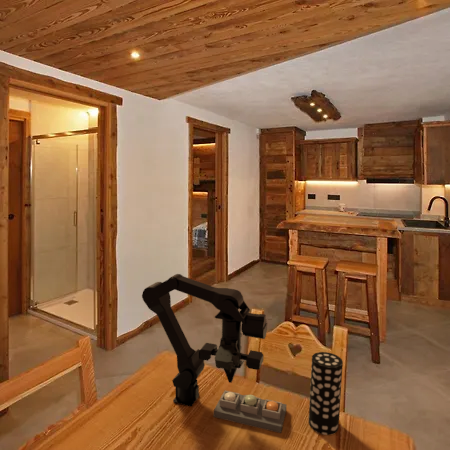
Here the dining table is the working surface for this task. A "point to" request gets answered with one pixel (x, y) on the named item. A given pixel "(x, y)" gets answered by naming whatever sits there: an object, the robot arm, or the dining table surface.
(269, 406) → the orange button
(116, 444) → the dining table surface
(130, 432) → the dining table surface
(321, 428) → the spotted tube
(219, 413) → the rack
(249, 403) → the sage button
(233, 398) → the cream button
